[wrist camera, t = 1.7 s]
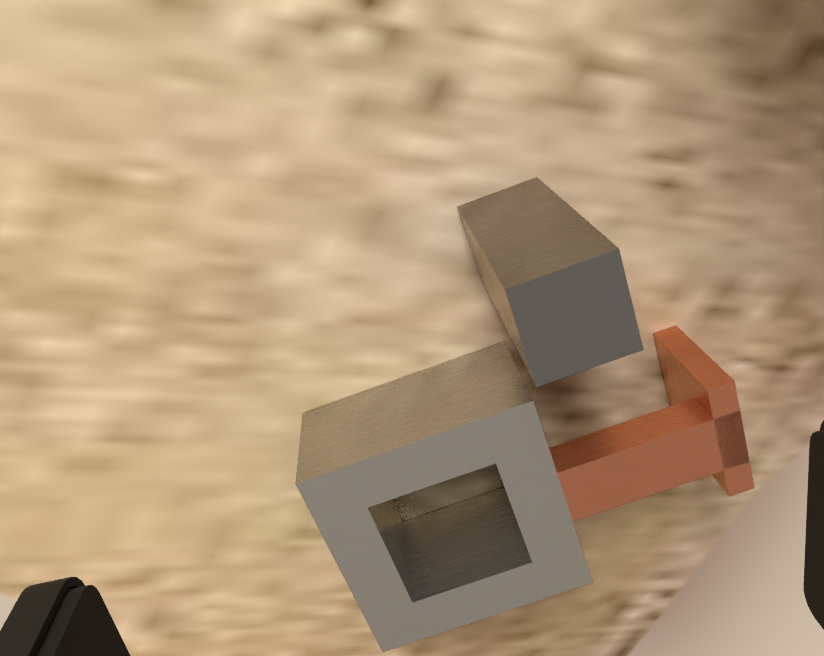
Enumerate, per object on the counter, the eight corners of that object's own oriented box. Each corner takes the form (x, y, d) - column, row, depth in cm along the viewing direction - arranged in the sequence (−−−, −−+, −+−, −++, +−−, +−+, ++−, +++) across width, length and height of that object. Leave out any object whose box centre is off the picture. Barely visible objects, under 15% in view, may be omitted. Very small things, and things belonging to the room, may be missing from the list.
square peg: (536, 177, 28) (618, 248, 19) (558, 253, 29) (643, 349, 21) (457, 206, 28) (504, 289, 20) (481, 280, 29) (536, 387, 21)
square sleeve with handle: (377, 566, 34) (382, 652, 30) (302, 413, 31) (295, 483, 26) (704, 456, 33) (761, 526, 29) (667, 283, 30) (725, 333, 25)
